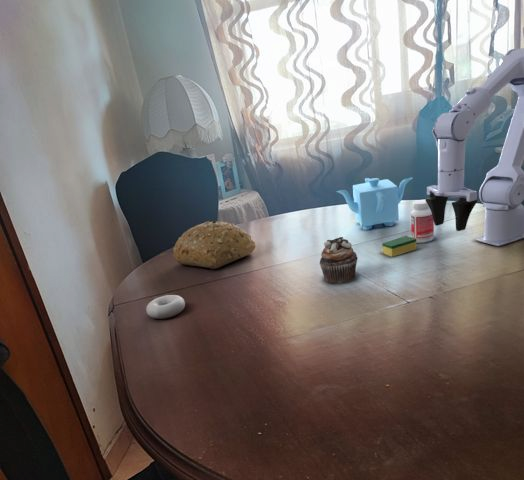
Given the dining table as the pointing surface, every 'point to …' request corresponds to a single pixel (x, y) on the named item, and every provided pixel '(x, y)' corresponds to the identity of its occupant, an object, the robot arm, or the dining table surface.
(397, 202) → the teakettle
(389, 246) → the sponge
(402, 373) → the dining table surface
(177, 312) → the donut
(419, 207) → the pill bottle
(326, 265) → the cupcake
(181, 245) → the bread
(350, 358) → the dining table surface
